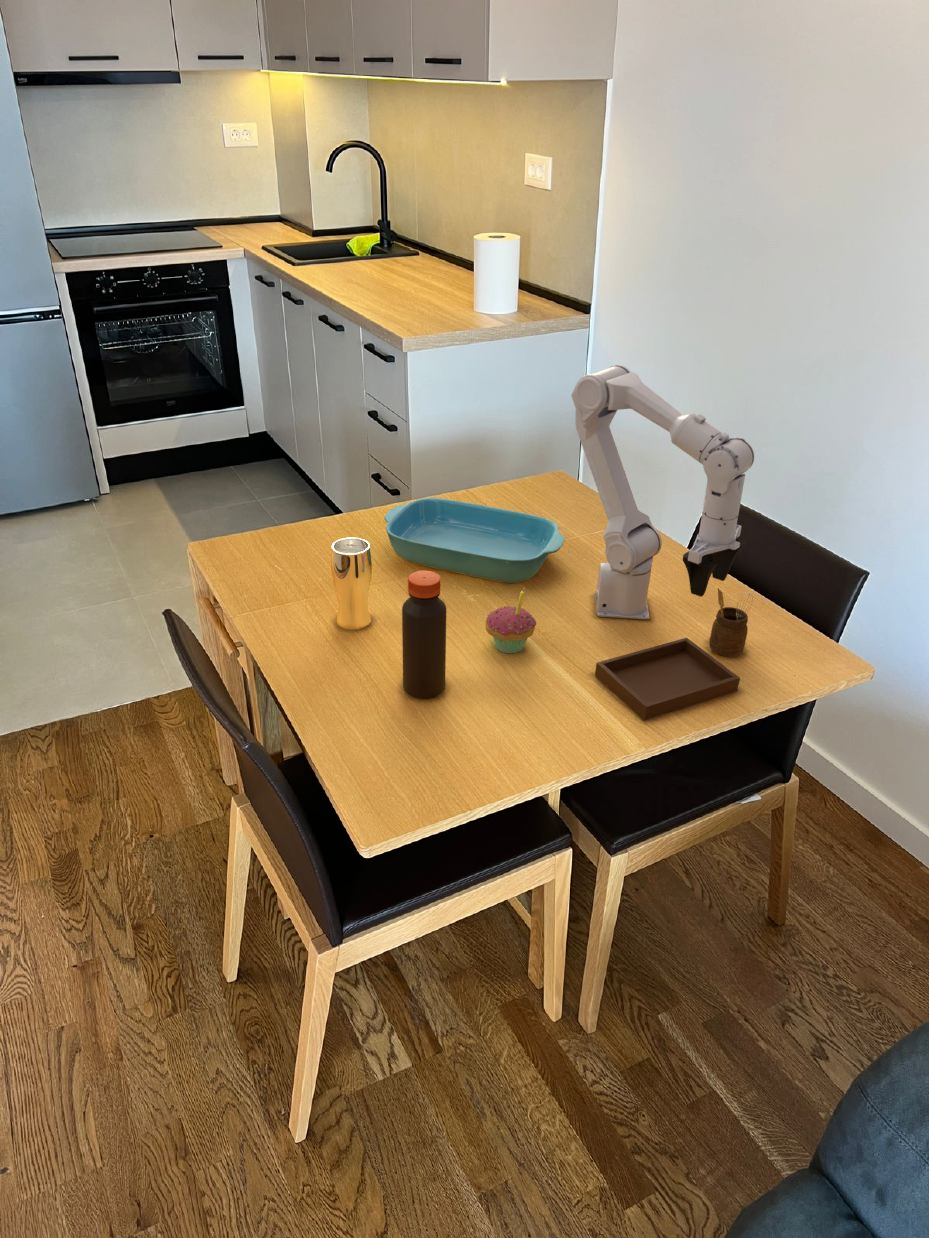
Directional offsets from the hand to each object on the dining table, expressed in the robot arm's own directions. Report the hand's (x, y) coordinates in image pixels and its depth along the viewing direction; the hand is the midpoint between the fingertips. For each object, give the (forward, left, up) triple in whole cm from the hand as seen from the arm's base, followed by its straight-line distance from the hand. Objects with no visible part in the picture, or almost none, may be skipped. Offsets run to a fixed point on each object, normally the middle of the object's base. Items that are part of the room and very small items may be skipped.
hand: (708, 586), depth 161 cm
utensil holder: (+4, -3, -11) cm, 12 cm away
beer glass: (-61, -2, -11) cm, 62 cm away
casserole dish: (-42, +26, -11) cm, 51 cm away
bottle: (-46, -21, -11) cm, 52 cm away
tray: (-7, -15, -10) cm, 20 cm away
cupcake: (-33, -7, -11) cm, 36 cm away
